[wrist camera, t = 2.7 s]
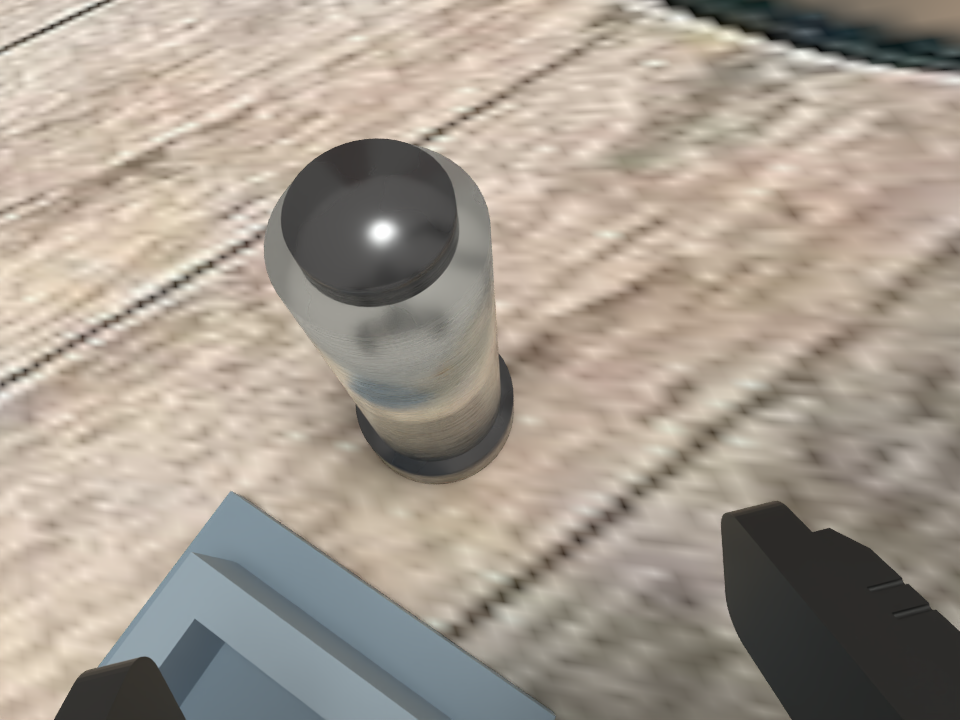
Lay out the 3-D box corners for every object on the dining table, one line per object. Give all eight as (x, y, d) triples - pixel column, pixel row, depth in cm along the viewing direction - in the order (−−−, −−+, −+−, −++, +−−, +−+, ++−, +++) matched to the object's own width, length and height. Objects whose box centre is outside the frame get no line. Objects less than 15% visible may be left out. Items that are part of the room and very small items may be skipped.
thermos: (419, 318, 24) (339, 62, 13) (540, 386, 23) (563, 165, 12) (335, 434, 22) (167, 253, 12) (461, 513, 21) (404, 394, 10)
